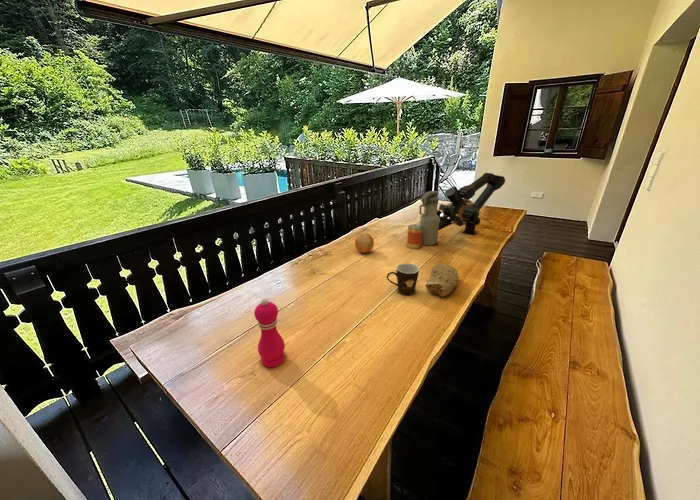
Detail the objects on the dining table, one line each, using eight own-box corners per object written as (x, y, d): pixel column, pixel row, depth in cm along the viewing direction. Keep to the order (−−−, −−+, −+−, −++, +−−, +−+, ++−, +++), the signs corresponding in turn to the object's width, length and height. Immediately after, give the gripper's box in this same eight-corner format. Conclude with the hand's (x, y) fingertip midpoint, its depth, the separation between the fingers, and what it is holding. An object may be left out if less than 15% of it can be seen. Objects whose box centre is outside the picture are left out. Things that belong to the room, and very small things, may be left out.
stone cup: (468, 225, 190) (471, 202, 184) (449, 223, 196) (452, 200, 190) (473, 219, 202) (476, 197, 196) (455, 217, 208) (457, 195, 202)
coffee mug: (418, 287, 120) (420, 265, 117) (415, 298, 113) (417, 274, 109) (390, 283, 124) (391, 261, 120) (385, 293, 117) (386, 270, 113)
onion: (364, 257, 148) (364, 238, 144) (350, 251, 155) (350, 233, 151) (377, 252, 154) (378, 233, 150) (364, 246, 161) (364, 229, 157)
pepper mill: (262, 351, 88) (253, 292, 80) (287, 349, 89) (280, 290, 81) (257, 369, 81) (246, 307, 74) (284, 367, 82) (276, 305, 74)
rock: (450, 303, 112) (468, 273, 124) (447, 286, 108) (466, 257, 121) (418, 297, 120) (438, 270, 133) (414, 281, 117) (435, 255, 130)
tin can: (410, 242, 166) (411, 223, 161) (423, 245, 161) (424, 225, 157) (404, 246, 160) (405, 227, 156) (417, 249, 156) (418, 229, 152)
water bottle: (425, 247, 159) (430, 194, 148) (414, 241, 167) (417, 191, 156) (440, 243, 163) (446, 192, 152) (429, 238, 171) (433, 189, 160)
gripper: (436, 195, 169) (419, 217, 168) (461, 202, 153) (443, 226, 153) (445, 206, 175) (429, 228, 175) (470, 214, 160) (453, 237, 159)
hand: (438, 229), depth 165 cm, fingers closed
